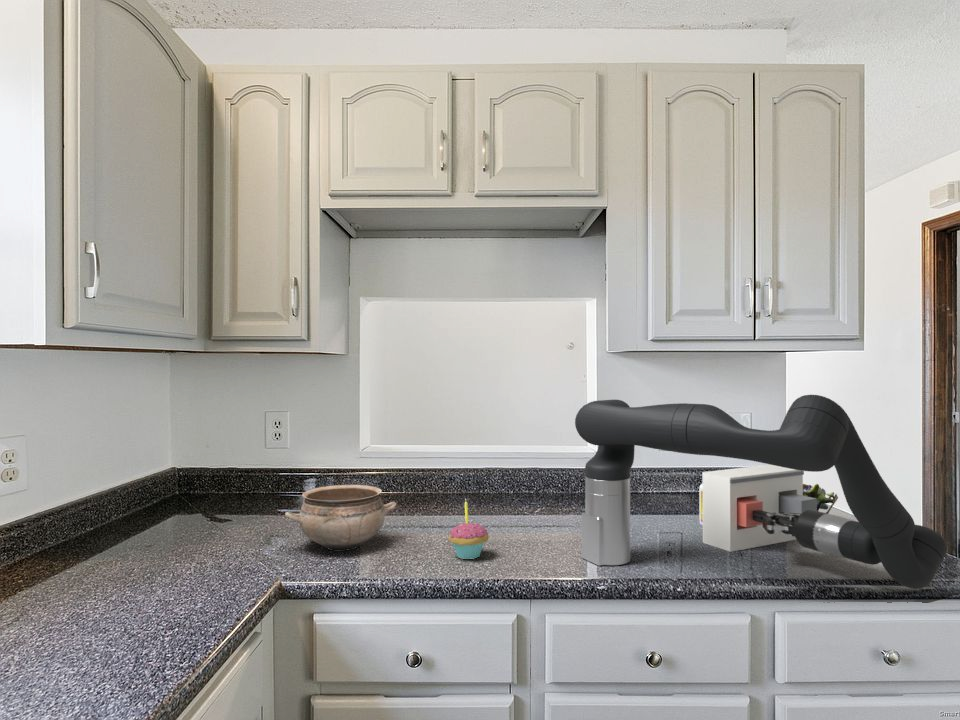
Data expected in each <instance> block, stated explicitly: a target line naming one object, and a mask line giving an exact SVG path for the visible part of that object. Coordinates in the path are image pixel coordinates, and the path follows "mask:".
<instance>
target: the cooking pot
mask: <svg viewBox="0 0 960 720" xmlns="http://www.w3.org/2000/svg"><path fill="white" fill-rule="evenodd" d="M381 493H382V489H381V488H380V487H376V486H374V485H364V484H363V485H362V484H335V485H325V486H320V487H315V488H312V489H308V490H305V491H304V492H302V494H301V495H302V497H303V498H304V500H303V502H302V505H301V507H300V511H299V513H293V512H290V511H286V512H285V513H284V516H285V517H286V518H288V519H290V520H292V521H294V522H297V523H299V527H300V529H301V531H302V532H303V534H304V535H305V536H306V537H307V538H308V539H309V540H311V541H313V542H315V543H317V544H318V545H320V546H322V547H324V548H327V549H328V548H329V549H328V550H330V549H332V550H331V551H334V550H345V551H348V550H347V549H351V550H353V549H352V548H354V549H356V548H357V546H360V545H362V544H364V543H366V542H367V541H369V540H370V539H372V538H373V537H374V536H375V535H377V533H379V532H380V530H381V529H382V527H383V525H384V522H385V518H386V517H385V516H386V515H387V514H388V513H389V512H391V511H393V510H394V509H395V508H396V507H397V502H396V501H391V502H389V503H386V504H385V503H383V501H382V499H381V496H380V494H381ZM355 547H356V548H355Z"/></svg>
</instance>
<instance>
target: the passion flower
mask: <svg viewBox="0 0 960 720" xmlns="http://www.w3.org/2000/svg"><path fill="white" fill-rule="evenodd" d="M803 496H807V497H812V498H816V499H817V511H819V510H827V511H826V512H825V513H827V514H830V512H831V509H832V508H833V506H834V505H835V504H836V502H837V501H838V499H839V496H838V494H837V493H835V492H833V491H831V492H829V493H828V492H826V489H824V488H821V487H820V485H819V483H816V484H814V485H811V484H806V483H803ZM826 496H827V497H826ZM827 504H830V507H829V506H828V505H827Z"/></svg>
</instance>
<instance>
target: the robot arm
mask: <svg viewBox="0 0 960 720" xmlns="http://www.w3.org/2000/svg"><path fill="white" fill-rule="evenodd" d="M574 424H575V425H574V426H575V429H576V431H577V433H578V435H579V436H580V437H581V438H582V439H583V441H585V442H587V443H589V444H590V445H593V446H597V449H596V450H597V451H596V452H595V454H594V455H593V456H592V457H591V458H590V459H589V460H587V461H586V463H585V467H584V474H585V475H584V476H585V477H584V478H585V479H584V482H585V485H584V486H585V487H584V490H585V492H584V493H585V495H584V497H585V500H584V501H585V503H584V505H585V506H584V507H585V509H584V510H585V511H584V512H582V513H580V514H581V518H580V519H581V522H580V523H581V530H580V531H581V558H582V559H583V560H586V561H588V562H590V563H592V564H595V565H597V566H619V565H626V564H628V563H630V562H631V469H632V466H633V465H634V462H635V461H634V460H635V446H639V447H644V448H650V449H654V450H661V451H665V452H666V451H667V452H672V453H673V452H674V453H680V454H688V455H698V456H713V457H721V458H729V459H730V458H731V459H738V460H744V461H751V462H756V463H761V464H765V465H775V466H780V467H785V468H790V469H795V470H801V471H804V472H824V471H828V470H830V469H831V468H833V467H834V468H835V470H836V473H837V476H838V480H839V482H840V485H841V489H842V492H843V495H844V497H845V501H846V503H847V506H848V508H849V510H850V511H851V513H852V514H853V516H854V518H855V519H856V520H857V521H855V520H852V519H850V518H846V517H844V516H840V515H836V514H831V513H828V514H827V513H826V512H823V511H819V510H818V511H814V510H806V511H804V512H802V513H801V514H798V513H787V512H780V513H776V512H773V513H770V512H766V511H762V510H755V511H753V520H754V521H757V522H761V523H763V528H764V529H765V530H766V532H767V533H769V534H774V532H775V531H778V532H782V533H784V534H785V535H787V536H795V538H796V539H797V540H796V541H797V543H798V544H799V545H800V546H802V547H803V548H806V549H810V550H812V551H816V552H819V553H822V554H827V555H830V556H834V557H839V558H844V559H849V560H852V561H856V562H859V563H862V564H867V565H872V566H873V565H877V564H882V566H883V568H884V570H885V571H886V572H887V574H888V575H889V576H890V577H891V578H892V579H893V580H894V581H896V582H897V583H898V584H900V585H901V586H903V587H906V588H908V589H915V590H917V589H918V590H920V589H924V588H926V587H928V586H929V585H930V584H931V583H932V581H933V580H934V577H935V576H936V574H937V572H938V570H939V568H940V566H941V564H942V563H943V561H944V559H945V557H946V556H947V551H948V544H947V542H946V540H945V539H944V537H943V536H942V535H941V534H939V533H938V532H937V531H935V530H933V529H932V528H929V527H927V526H923V525H920V524H916V523H915V521H914V518H913V517H912V515H911V514H910V513H909V511H908V510H907V509H906V507H904V505H903V504H902V503H901V501H900V500H899V499H898V498H897V497H896V495H895V494H894V493H893V492H892V491H891V488H889V486H888V485H887V483H886V482H885V480H884V478H883V477H882V476H881V474H880V473H879V471H878V469H877V467H876V465H875V463H874V461H873V460H872V458H871V456H870V454H869V453H868V450H867V448H866V447H865V444H864V443H863V441H862V440H861V437H860V436H859V434H858V432H857V429H856V428H855V426H854V424H853V421H852V420H851V418H850V417H849V415H848V414H847V412H846V411H845V409H844V408H843V407H842V406H841V405H840V404H839V403H837V402H836V401H834V400H832V399H830V398H829V397H826V396H822V395H820V394H819V395H818V394H805V395H802V396H801V395H800V397H799V396H798V397H797V398H796V399H795V400H794V401H793V402H792V403H791V405H790V406H789V408H788V410H787V411H786V414H785V416H784V419H783V421H782V422H781V425H780V427H779V429H776V430H774V429H773V430H764V429H756V428H755V429H754V428H750V427H747V426H744V425H743V424H741V423H740V422H739V421H737V420H736V419H735V418H734V417H733V416H731V415H729V414H728V413H727V412H726V411H724V410H722V409H721V408H719V407H717V406H715V405H711V404H704V403H686V402H685V403H684V402H682V403H680V402H679V403H665V404H663V403H662V404H653V405H652V404H651V405H646V406H644V405H643V406H636V407H631V406H630V405H629V404H628V403H626V402H625V401H623V400H621V399H602V400H593V401H590V402H588V403H586V404H585V405H583V406H582V407H581V408H580V409H579V410H578V412H577V413H576V416H575V421H574Z"/></svg>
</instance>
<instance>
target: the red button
mask: <svg viewBox="0 0 960 720" xmlns="http://www.w3.org/2000/svg"><path fill="white" fill-rule="evenodd" d="M755 510H762V511H763V502H762V501H758V500H754V499H749V498H745V497H739V498H737V525H740V526H743V527H751V526H757V525H763V523H761V522H757V521H754V520H753V511H755Z"/></svg>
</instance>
